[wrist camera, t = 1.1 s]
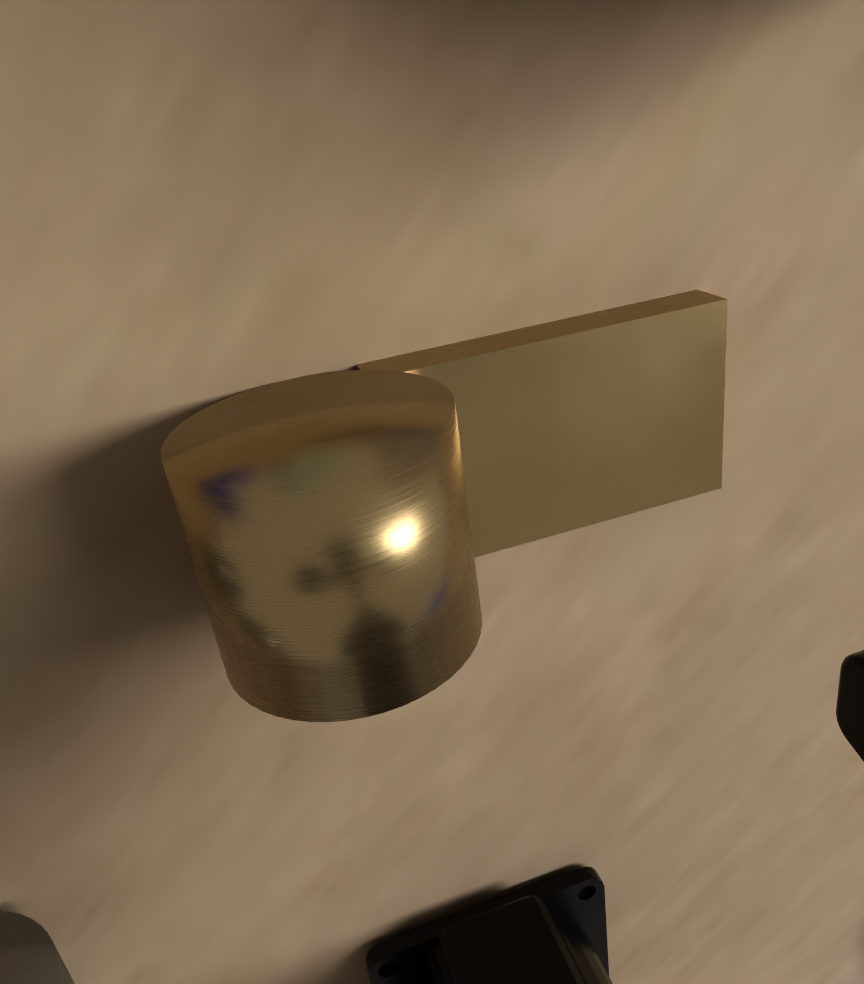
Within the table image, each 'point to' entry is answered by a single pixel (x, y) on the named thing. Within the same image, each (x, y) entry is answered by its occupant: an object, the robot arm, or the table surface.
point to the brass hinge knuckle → (430, 491)
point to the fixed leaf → (28, 953)
